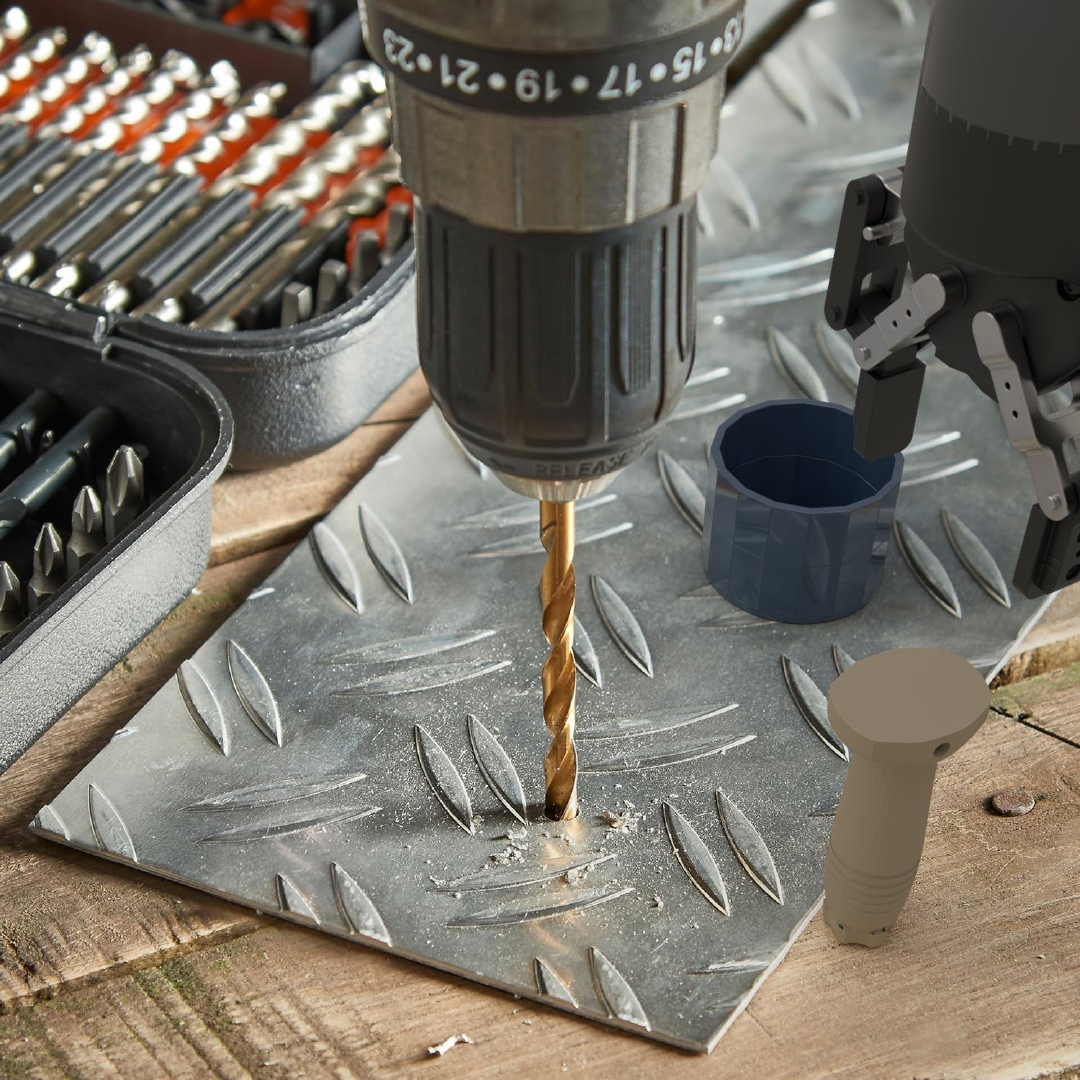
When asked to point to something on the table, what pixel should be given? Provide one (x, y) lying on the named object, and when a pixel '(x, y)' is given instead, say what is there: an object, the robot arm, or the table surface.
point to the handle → (891, 777)
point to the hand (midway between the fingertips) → (956, 515)
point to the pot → (796, 512)
